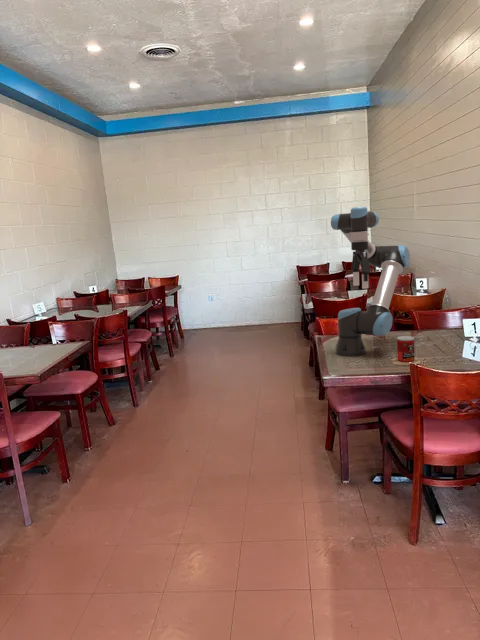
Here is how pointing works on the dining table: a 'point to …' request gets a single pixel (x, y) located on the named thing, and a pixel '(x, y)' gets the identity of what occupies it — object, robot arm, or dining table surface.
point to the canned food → (405, 349)
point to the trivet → (396, 362)
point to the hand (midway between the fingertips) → (360, 287)
